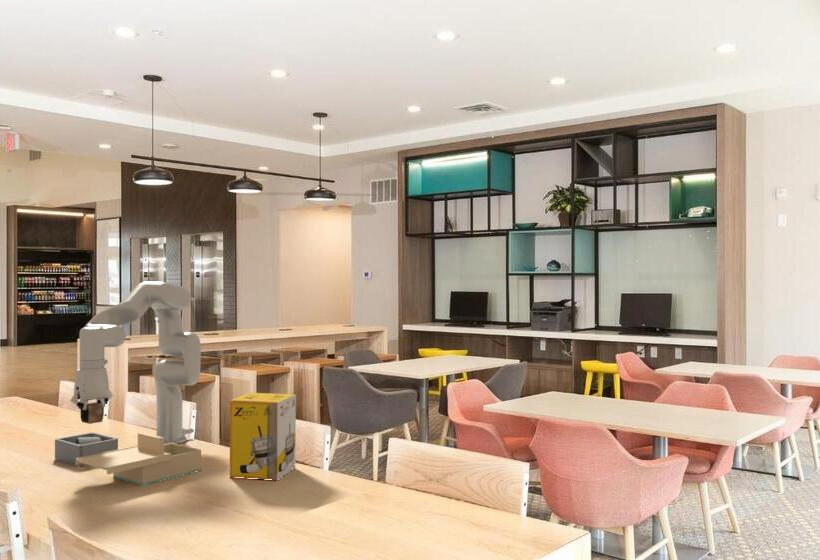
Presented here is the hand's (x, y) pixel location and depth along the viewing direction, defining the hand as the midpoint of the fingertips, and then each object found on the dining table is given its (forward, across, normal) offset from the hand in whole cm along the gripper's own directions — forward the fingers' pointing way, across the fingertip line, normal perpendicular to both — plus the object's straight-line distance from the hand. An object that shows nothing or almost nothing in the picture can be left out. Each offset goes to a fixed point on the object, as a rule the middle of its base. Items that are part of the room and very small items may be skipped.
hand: (92, 419), depth 250 cm
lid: (+11, 0, +19) cm, 22 cm away
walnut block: (+1, 0, 0) cm, 1 cm away
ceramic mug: (+18, -9, -19) cm, 27 cm away
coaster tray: (+17, -8, -17) cm, 25 cm away
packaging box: (+17, -34, +45) cm, 59 cm away
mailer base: (+17, -12, +19) cm, 28 cm away
